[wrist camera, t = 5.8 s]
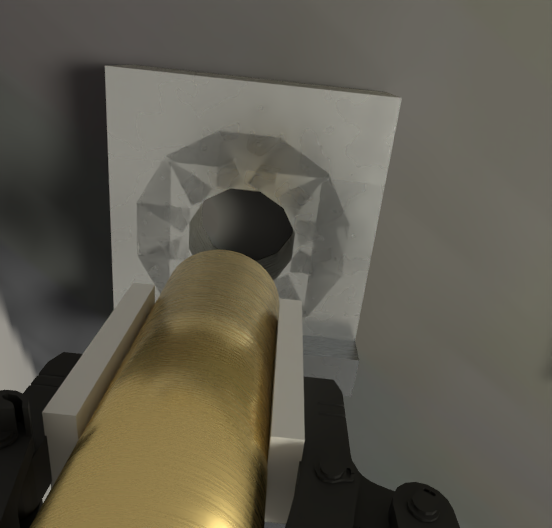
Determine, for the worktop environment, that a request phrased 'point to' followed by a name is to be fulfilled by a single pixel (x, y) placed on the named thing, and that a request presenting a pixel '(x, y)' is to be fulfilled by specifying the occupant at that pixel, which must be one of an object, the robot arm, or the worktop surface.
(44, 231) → the worktop surface
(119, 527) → the gold brass cylinder
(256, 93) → the jig
